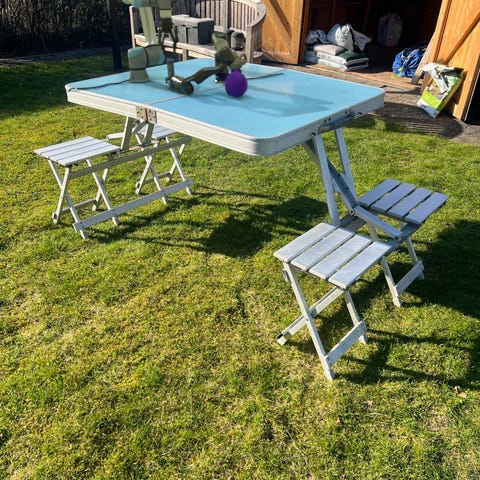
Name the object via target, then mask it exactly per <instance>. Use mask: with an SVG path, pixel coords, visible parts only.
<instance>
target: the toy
mask: <svg viewBox="0 0 480 480" xmlns="http://www.w3.org/2000/svg"><path fill="white" fill-rule="evenodd" d="M215 75H216V76H218V77H220V78H221V79H223V80H225V83H224V89H225V92H226V94H227V95H228V96H230V97H231V98H236V99H237V98H238V99H239V98H241V97H243V96H244V95H245V94H246V92H247V91H248V88H249V83H248V82H249V81H248V79H246V78H247V76H245V74H244V73H243V72H242V68H235V69H232V70H230V72H229V73H216V74H214V75H213V76H215Z"/></svg>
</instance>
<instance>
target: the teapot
mask: <svg viewBox="0 0 480 480" xmlns="http://www.w3.org/2000/svg"><path fill="white" fill-rule="evenodd" d="M232 52H233V54H234V55H235V57H236V60H235V61H234V62H233V63H232V64H231V65H229V66H228V68H229V71H231V70H232V69H235V68H240V69H242V68H243V66H244V65H246V64H247V63H248V56H247V53H246V52H242V53H240V54H238V53H237V52H236V50H233V51H232ZM242 58H243V60H242Z"/></svg>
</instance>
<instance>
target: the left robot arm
mask: <svg viewBox="0 0 480 480" xmlns="http://www.w3.org/2000/svg"><path fill="white" fill-rule="evenodd" d="M121 2H122V3H124V4H126V5H132V7H133V8H135V9H136V8H137V9H138V10H139V15H140V21H141V25H142V29H143V30H142V31H143V35H144V39H145V45H144V47H143V46H136V47H132V48H130V49H127V58H128V66H129V76H128V79H125V80H122V81H118V82H110V83H105V84H101V85H95V86H87V87H71V88H70V87H69V89H67V92H68V93H69V92H70V91H72V90H91V89H97V88H103V87H106V86H110V85H111V86H112V85H120V84H123V83H126V82H129V83H133V84H141V83H148V82H150V75H149V74H148V71H147V67H146V66H155V65H163V64H164V61H165V56H166V45H165V39H166V35H167V34H169V36H170V39H171V41H172V54H173V55H177V44H178V43H179V42H180V40H179V35H178V27H177V26H174V25H173V18H172V17H173V14H172V13H173V12H172V3H171V0H121ZM155 7H156V8H159V17H160V27H157V28H156V26H155V21H154V17H153V16H154V15H153V11H152V8H155ZM156 30H157V32H156ZM75 88H77V89H75ZM72 133H73V139H75V140H76V139H77V138H76V132H75V129H72Z"/></svg>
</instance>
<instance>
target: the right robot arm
mask: <svg viewBox="0 0 480 480" xmlns="http://www.w3.org/2000/svg"><path fill="white" fill-rule="evenodd" d="M211 44H212V46H213V47H214V49H215V51H216V52H214V55H213V56H214V66H205V67H202V68H200V69H199V70H197V71H196V72H195V73H193V74H191V75H189V76H186V77H183V76H180V75H177V74H175V76H173V77H168V76H166V77H165V78H164V82H165V84H169V82H170V83H172V85H173V86H175V87H176V88H175V89H179V90H181V91H182V92H183V94H185V95H187V96H188V95H189V96H190V95H193V94H194V92H195V89H196V88H195V86H194V84H193V82H194V83H195V84H196V85H201V84H202V83H203V82H205V81H206V80H208V79H209V78H211V77H212V76H215V80H214V81H215V83H217V84H225V80H223V79H221V78H220V77H218V76H216V75H214V74H216V73H229V74H230V69H229V67H228V66H229V65H231V64H232V63H233V62H234V61H235V60H236V57H235V55H234V54H233V52H234V51H233V50H232V49H231V47H230V44H229V43H228V35H227V33H226V32H225V31H224V32H223V31H222V32H213V33H212V35H211ZM279 75H284V73H283V72H280V73H273V74H268V75H264V76H258V77H250V78H249V77H246V79H247V80H258V79H265V78H268V77H273V76H279Z"/></svg>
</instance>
